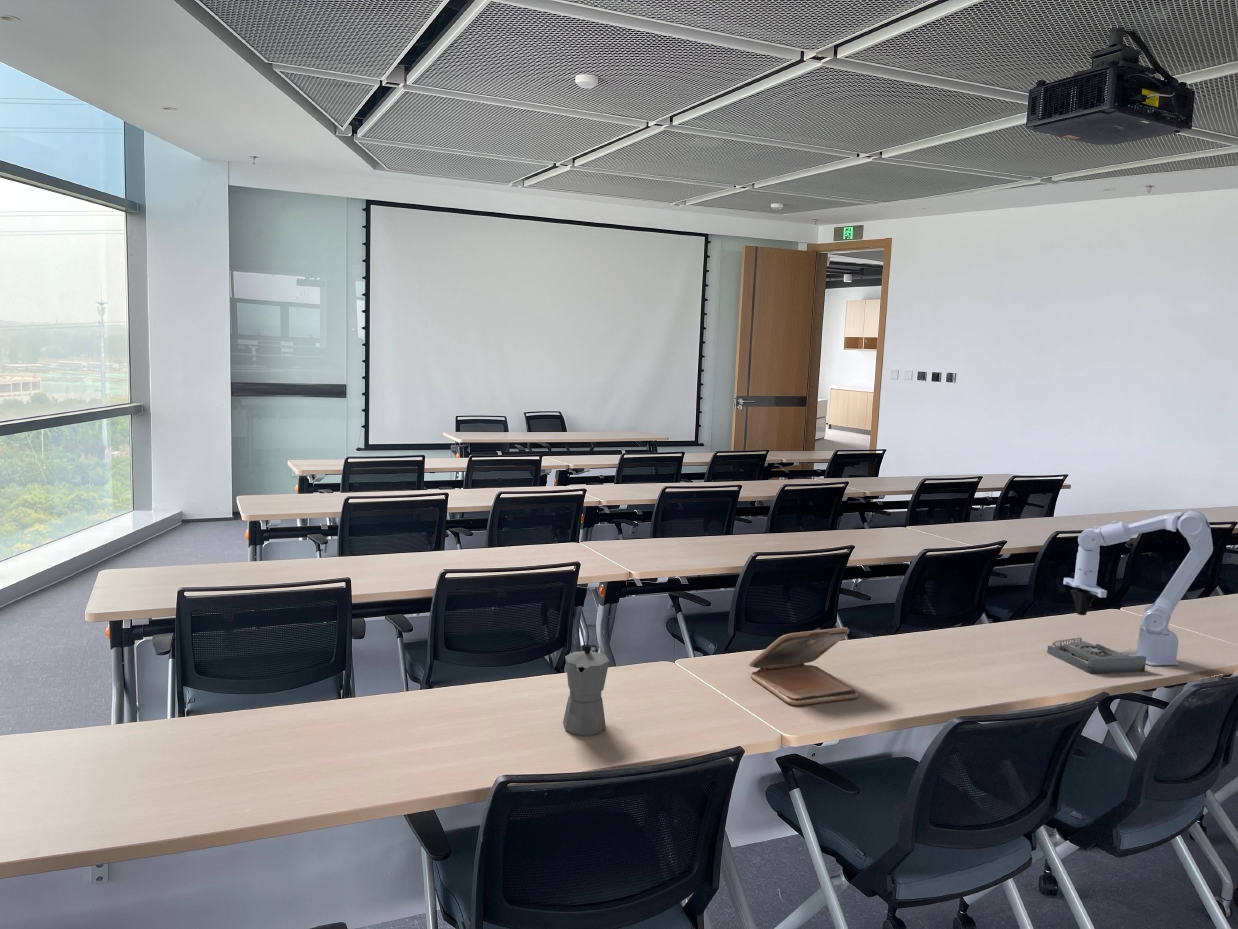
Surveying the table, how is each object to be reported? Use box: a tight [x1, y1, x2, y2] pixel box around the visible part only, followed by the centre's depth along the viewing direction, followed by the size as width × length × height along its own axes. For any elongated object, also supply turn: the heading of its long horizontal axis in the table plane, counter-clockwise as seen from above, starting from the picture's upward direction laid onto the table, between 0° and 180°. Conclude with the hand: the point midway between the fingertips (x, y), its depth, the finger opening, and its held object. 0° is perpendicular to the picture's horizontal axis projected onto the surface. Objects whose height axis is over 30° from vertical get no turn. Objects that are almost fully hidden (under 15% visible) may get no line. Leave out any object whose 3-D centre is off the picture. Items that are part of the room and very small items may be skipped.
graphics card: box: [1051, 636, 1124, 662], centre depth 234 cm, size 17×4×12 cm
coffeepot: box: [562, 644, 610, 737], centre depth 175 cm, size 15×9×18 cm, turn 171°
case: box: [748, 626, 859, 706], centre depth 202 cm, size 20×21×16 cm
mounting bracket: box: [1046, 643, 1147, 675], centre depth 231 cm, size 17×16×4 cm
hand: (1081, 614), depth 244 cm, fingers closed
